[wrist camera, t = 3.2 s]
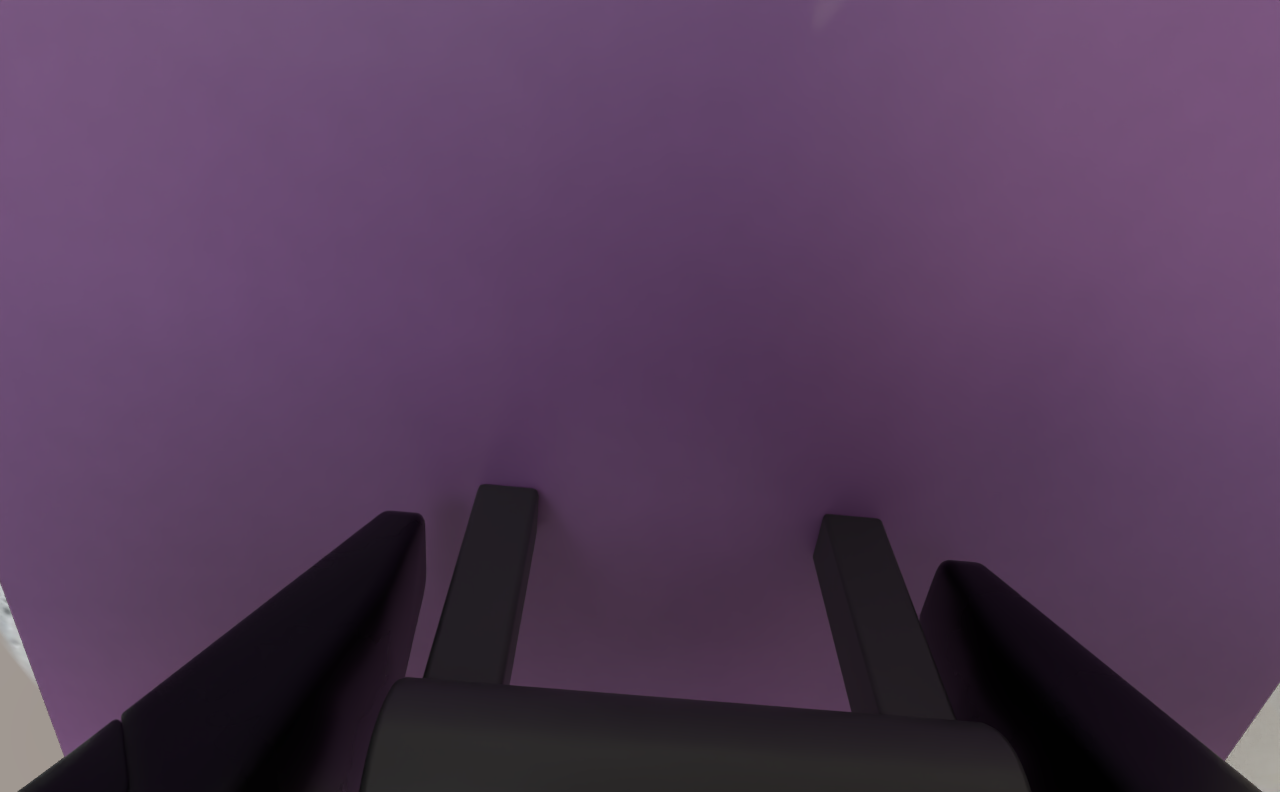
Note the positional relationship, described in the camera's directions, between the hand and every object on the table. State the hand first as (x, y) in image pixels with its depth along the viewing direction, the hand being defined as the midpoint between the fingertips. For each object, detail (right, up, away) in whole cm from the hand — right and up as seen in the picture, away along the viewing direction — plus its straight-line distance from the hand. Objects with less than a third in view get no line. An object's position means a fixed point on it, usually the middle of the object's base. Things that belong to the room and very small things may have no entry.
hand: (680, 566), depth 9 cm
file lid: (0, +1, +1) cm, 1 cm away
